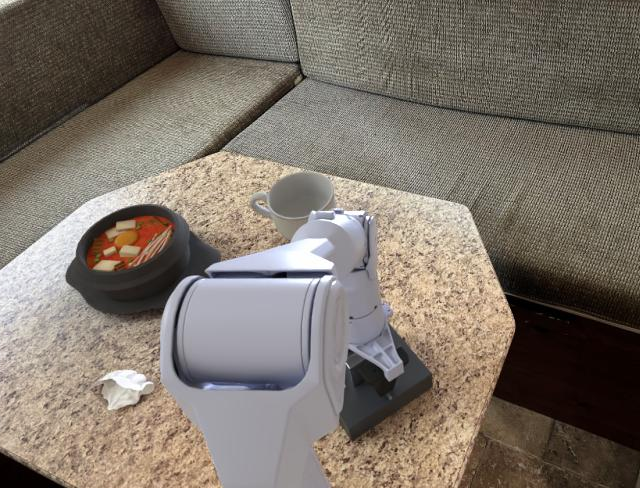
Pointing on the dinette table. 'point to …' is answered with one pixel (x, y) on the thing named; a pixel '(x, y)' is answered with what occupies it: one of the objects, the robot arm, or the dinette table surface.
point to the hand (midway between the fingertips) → (369, 368)
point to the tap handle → (355, 368)
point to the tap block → (370, 408)
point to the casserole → (137, 259)
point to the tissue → (123, 388)
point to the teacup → (295, 200)
